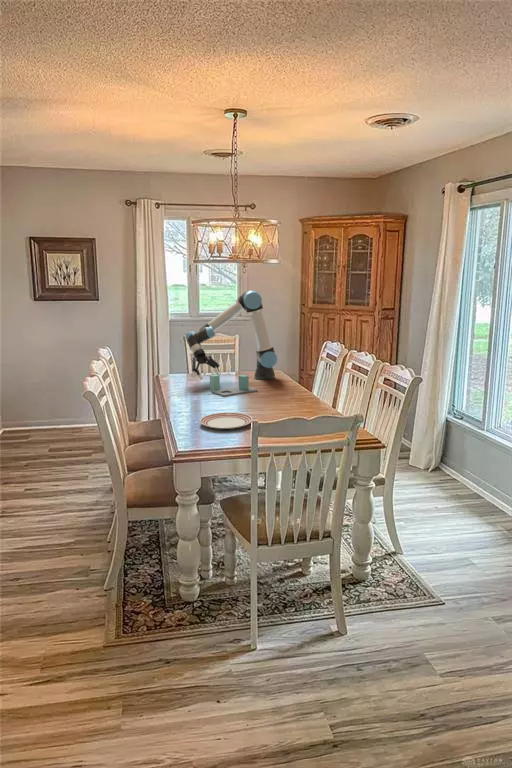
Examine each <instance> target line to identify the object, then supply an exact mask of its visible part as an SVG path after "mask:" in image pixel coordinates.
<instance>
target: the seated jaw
mask: <svg viewBox="0 0 512 768" xmlns="http://www.w3.org/2000/svg"><path fill="white" fill-rule="evenodd" d="M249 385H250V383H249V375H247V374H241V375H238V387H239V389H241V390H246V389H249V387H250V386H249Z"/></svg>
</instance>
